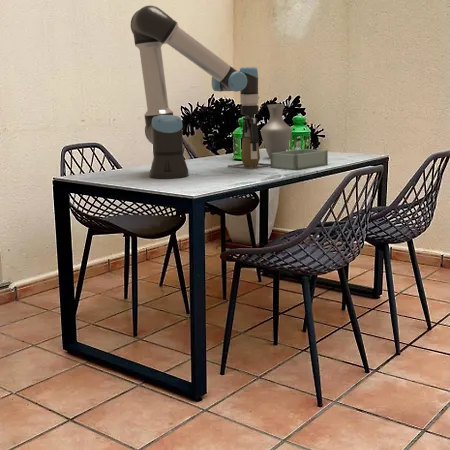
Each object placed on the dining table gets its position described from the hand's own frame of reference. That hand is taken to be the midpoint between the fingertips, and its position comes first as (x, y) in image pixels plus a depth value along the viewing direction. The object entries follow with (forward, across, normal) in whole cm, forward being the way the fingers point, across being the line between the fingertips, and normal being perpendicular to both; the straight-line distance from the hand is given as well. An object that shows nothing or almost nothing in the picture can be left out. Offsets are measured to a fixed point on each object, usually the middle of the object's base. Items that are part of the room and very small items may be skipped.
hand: (250, 157), depth 273 cm
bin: (+4, -9, -19) cm, 21 cm away
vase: (+4, +23, -19) cm, 30 cm away
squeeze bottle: (+4, 0, 0) cm, 4 cm away
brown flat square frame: (+4, 0, 0) cm, 4 cm away
